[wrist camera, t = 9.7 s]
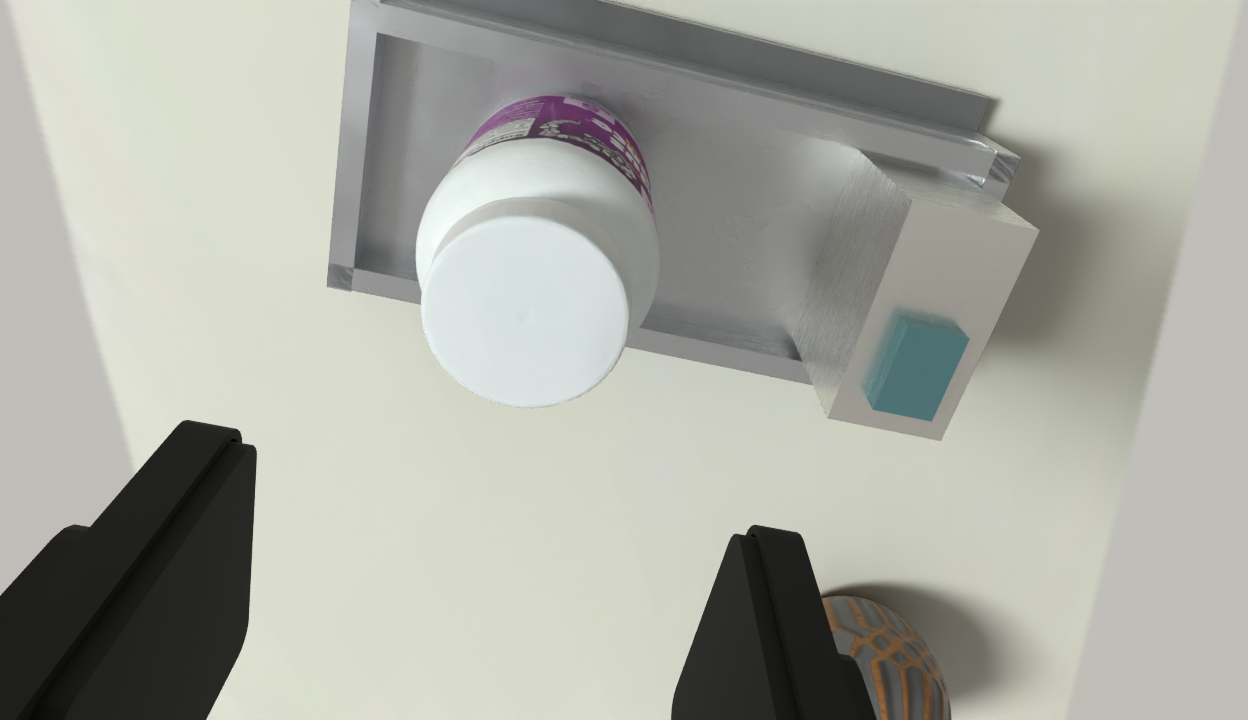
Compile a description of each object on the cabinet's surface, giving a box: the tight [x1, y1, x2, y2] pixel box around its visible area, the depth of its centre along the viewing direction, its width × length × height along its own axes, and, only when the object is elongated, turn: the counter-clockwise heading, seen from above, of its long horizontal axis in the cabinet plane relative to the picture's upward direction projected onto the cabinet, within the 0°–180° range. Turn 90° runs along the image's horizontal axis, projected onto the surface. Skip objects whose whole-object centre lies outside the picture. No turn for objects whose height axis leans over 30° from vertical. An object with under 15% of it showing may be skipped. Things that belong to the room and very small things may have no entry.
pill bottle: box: [416, 92, 660, 408], centre depth 20 cm, size 5×5×10 cm
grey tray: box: [327, 0, 1040, 441], centre depth 24 cm, size 10×18×8 cm, turn 77°
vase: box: [821, 596, 952, 720], centre depth 33 cm, size 7×7×9 cm
